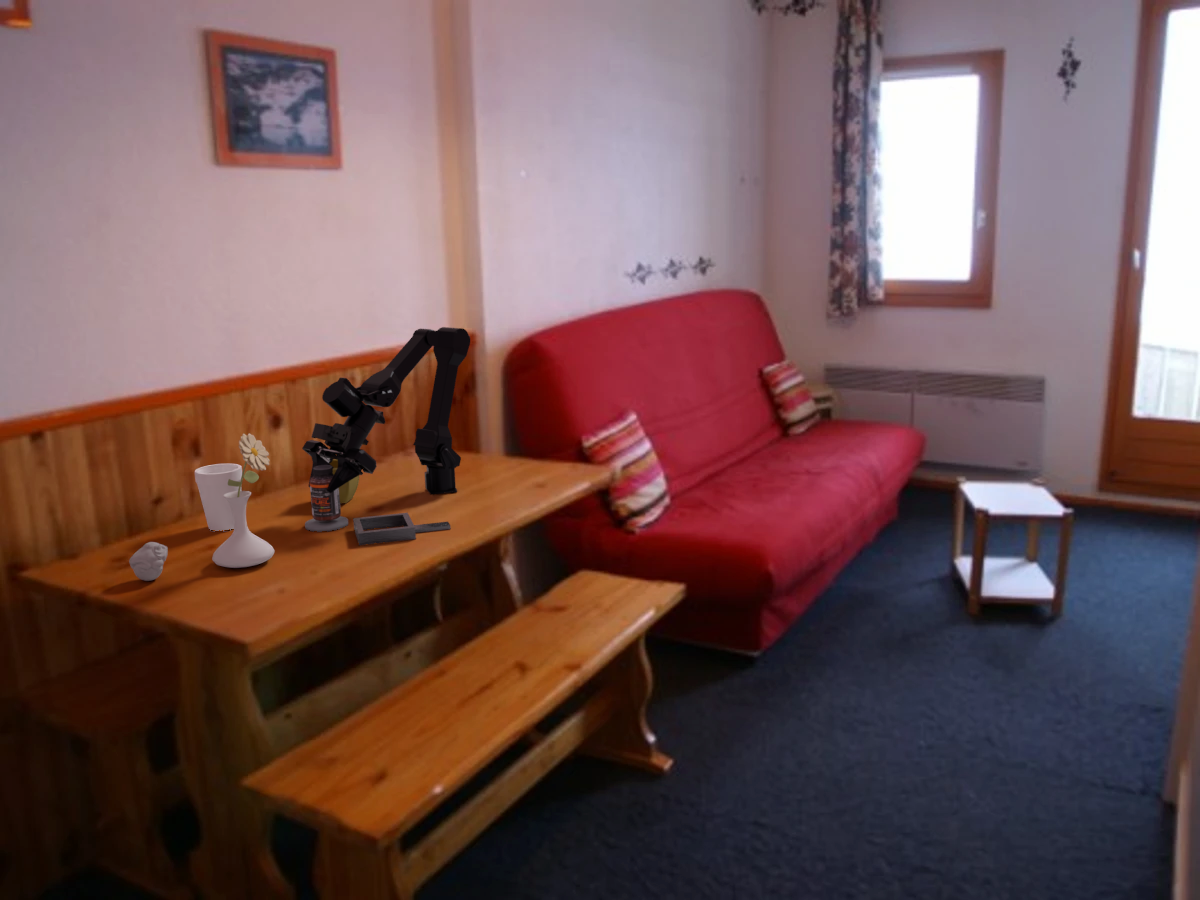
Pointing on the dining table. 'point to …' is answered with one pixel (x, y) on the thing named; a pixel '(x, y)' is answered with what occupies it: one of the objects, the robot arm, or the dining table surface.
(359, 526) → the square pan with handle
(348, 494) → the flower pot
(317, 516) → the supplement bottle
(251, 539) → the flower in vase
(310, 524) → the coaster
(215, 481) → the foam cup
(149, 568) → the lumpy white ball
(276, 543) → the dining table surface
